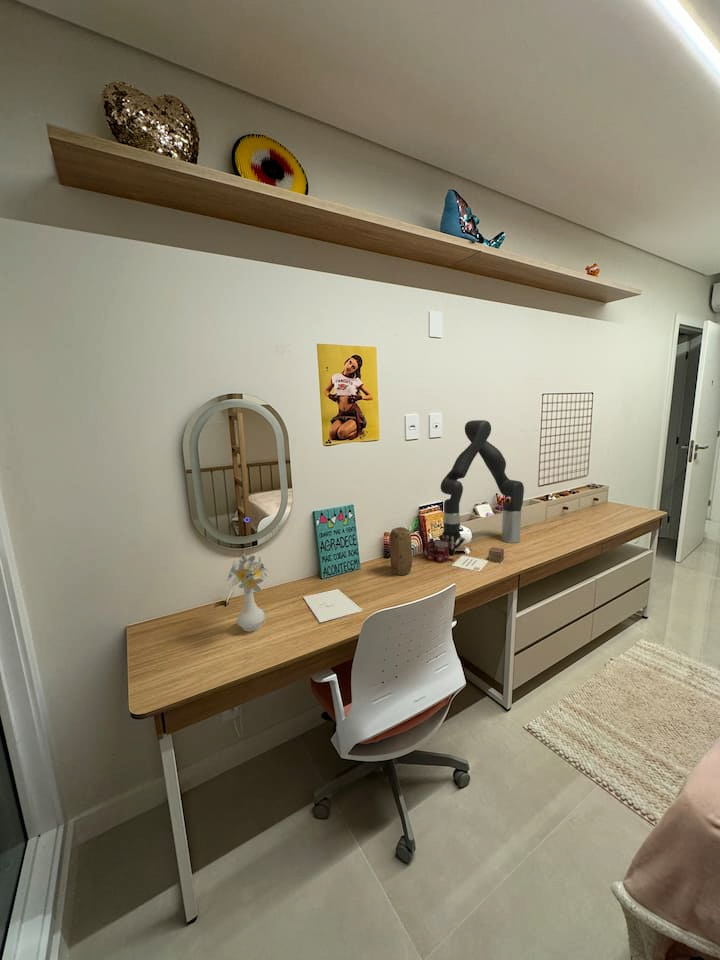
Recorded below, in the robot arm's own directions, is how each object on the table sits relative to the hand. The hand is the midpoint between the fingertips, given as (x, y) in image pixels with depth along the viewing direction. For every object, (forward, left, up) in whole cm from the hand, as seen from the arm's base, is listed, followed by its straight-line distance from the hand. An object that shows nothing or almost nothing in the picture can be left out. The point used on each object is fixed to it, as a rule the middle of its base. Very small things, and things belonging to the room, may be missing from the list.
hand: (451, 555), depth 179 cm
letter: (0, +9, -2) cm, 10 cm away
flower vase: (+90, -36, -2) cm, 97 cm away
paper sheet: (+59, -20, -3) cm, 62 cm away
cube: (-10, +18, -2) cm, 21 cm away
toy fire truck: (+3, -6, -2) cm, 7 cm away
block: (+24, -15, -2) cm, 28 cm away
